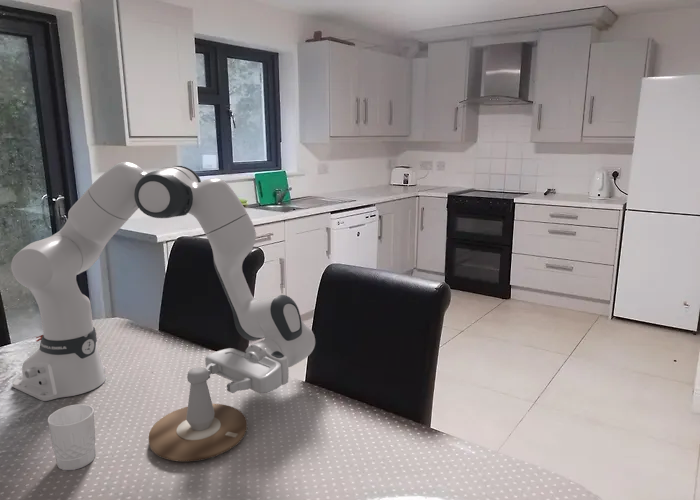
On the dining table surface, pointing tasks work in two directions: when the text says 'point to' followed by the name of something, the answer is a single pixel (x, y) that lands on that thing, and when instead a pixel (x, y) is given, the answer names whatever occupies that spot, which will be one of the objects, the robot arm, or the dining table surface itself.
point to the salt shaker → (199, 400)
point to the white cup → (73, 436)
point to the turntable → (197, 435)
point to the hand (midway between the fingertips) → (214, 382)
